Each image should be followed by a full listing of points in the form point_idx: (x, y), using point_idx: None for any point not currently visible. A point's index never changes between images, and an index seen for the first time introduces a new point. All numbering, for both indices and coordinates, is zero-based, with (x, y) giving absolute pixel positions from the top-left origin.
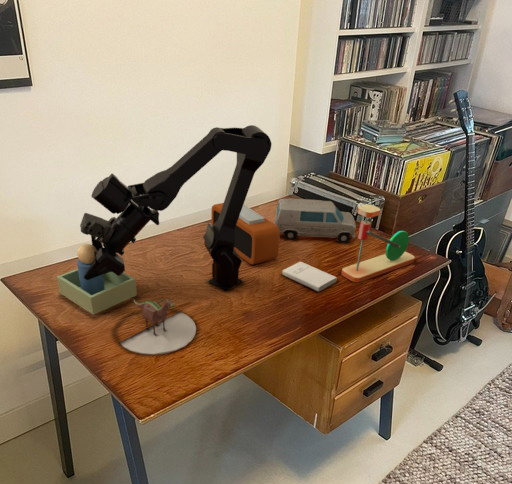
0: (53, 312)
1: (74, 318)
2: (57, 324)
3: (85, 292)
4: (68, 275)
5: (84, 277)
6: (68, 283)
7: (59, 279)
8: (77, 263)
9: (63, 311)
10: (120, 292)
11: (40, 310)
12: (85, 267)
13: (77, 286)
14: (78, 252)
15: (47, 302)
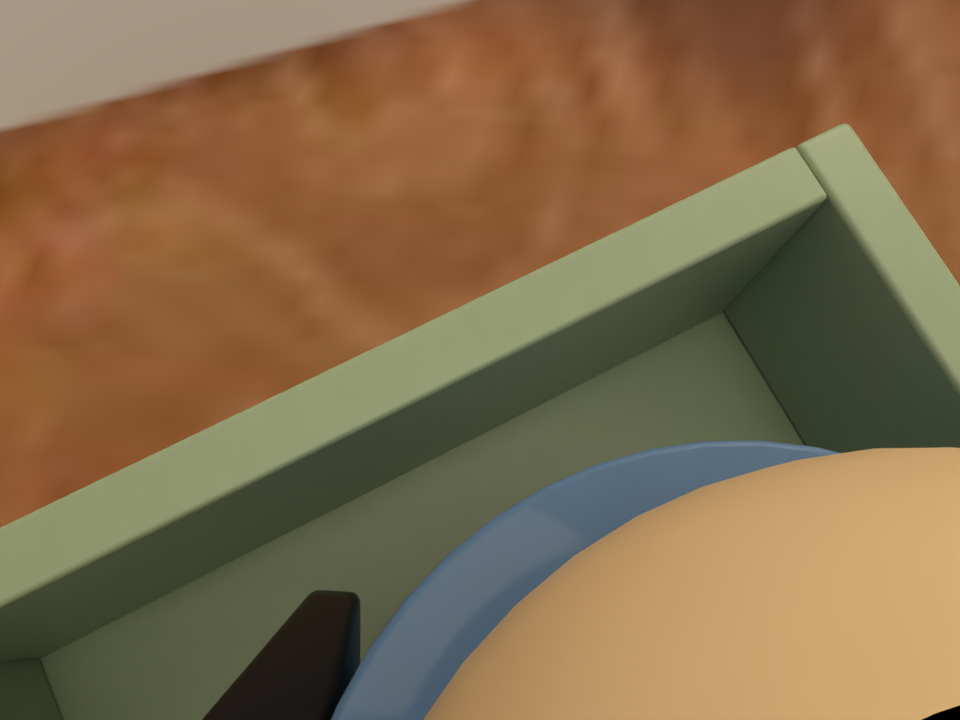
0: (348, 162)
1: (109, 381)
2: (55, 178)
3: (23, 563)
4: (898, 333)
5: (308, 608)
6: (513, 284)
7: (766, 167)
8: (682, 451)
9: (331, 272)
10: None
11: (442, 36)
12: (343, 709)
13: None
14: (886, 491)
15: (607, 120)
